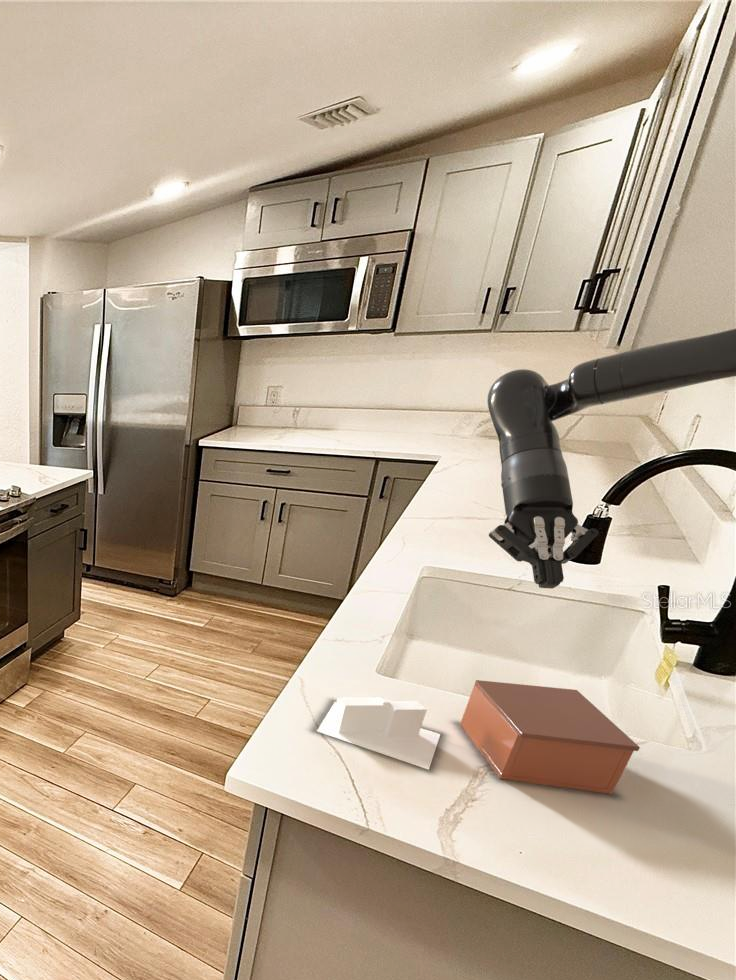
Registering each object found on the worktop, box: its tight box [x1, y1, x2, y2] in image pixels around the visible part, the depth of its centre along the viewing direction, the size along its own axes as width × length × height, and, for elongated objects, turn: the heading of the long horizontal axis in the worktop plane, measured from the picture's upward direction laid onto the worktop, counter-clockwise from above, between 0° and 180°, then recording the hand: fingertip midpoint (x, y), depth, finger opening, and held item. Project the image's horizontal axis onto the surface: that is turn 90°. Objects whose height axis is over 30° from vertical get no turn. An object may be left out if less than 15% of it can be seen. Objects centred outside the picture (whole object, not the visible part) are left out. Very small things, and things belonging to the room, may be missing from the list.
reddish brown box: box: [459, 683, 634, 795], centre depth 91 cm, size 14×13×8 cm
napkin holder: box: [316, 696, 441, 771], centre depth 98 cm, size 15×11×6 cm
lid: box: [474, 679, 641, 752], centre depth 89 cm, size 14×13×1 cm
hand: (550, 586), depth 91 cm, fingers closed
